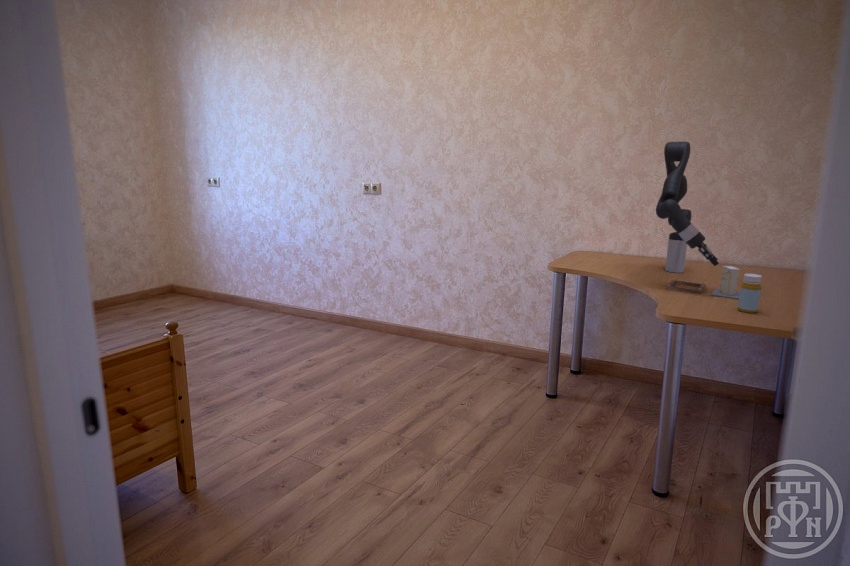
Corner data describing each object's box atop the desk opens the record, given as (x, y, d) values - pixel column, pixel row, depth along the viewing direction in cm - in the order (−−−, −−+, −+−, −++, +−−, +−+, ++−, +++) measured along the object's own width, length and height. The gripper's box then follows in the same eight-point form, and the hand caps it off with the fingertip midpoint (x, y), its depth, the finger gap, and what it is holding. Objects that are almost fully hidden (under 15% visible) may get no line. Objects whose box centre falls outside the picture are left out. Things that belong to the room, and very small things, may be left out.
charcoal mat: (715, 289, 262) (715, 288, 262) (744, 293, 256) (744, 292, 255) (710, 295, 252) (711, 294, 251) (741, 300, 245) (741, 298, 245)
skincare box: (718, 291, 256) (722, 265, 253) (727, 291, 257) (731, 265, 254) (726, 295, 250) (730, 268, 247) (736, 295, 250) (740, 268, 248)
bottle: (755, 309, 231) (760, 274, 227) (759, 314, 225) (764, 277, 221) (736, 307, 233) (741, 272, 230) (739, 312, 227) (745, 276, 223)
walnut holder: (671, 282, 274) (672, 279, 274) (705, 287, 266) (705, 284, 266) (665, 289, 262) (665, 285, 262) (699, 294, 254) (700, 290, 254)
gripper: (699, 232, 246) (724, 260, 245) (698, 228, 259) (722, 254, 257) (684, 243, 250) (709, 271, 248) (684, 238, 262) (708, 265, 261)
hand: (716, 262), depth 253 cm, fingers open, 8 cm apart
